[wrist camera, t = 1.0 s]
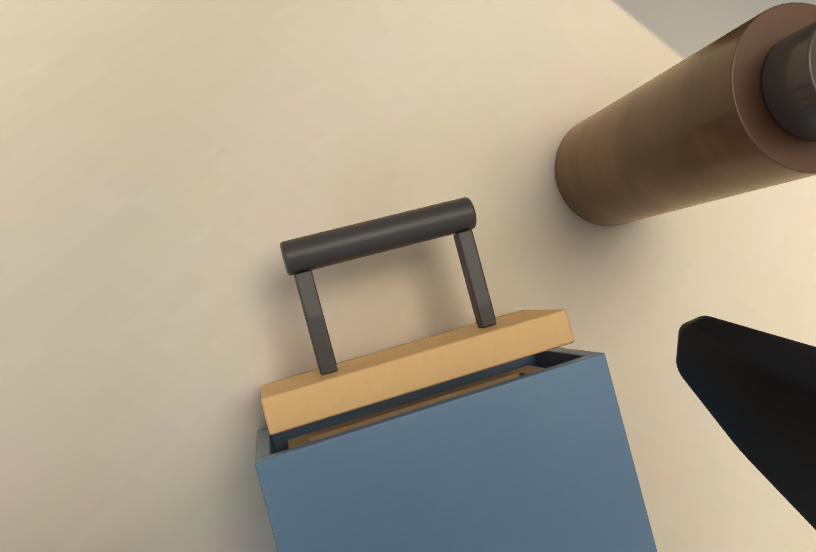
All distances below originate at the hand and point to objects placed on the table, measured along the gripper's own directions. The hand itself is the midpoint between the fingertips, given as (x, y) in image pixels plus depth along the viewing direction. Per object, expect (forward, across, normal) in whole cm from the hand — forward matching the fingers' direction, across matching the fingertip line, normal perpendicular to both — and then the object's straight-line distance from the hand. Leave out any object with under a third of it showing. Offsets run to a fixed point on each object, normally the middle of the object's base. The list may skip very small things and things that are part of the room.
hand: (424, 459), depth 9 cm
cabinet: (+9, -2, +17) cm, 19 cm away
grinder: (+16, -14, +7) cm, 22 cm away
